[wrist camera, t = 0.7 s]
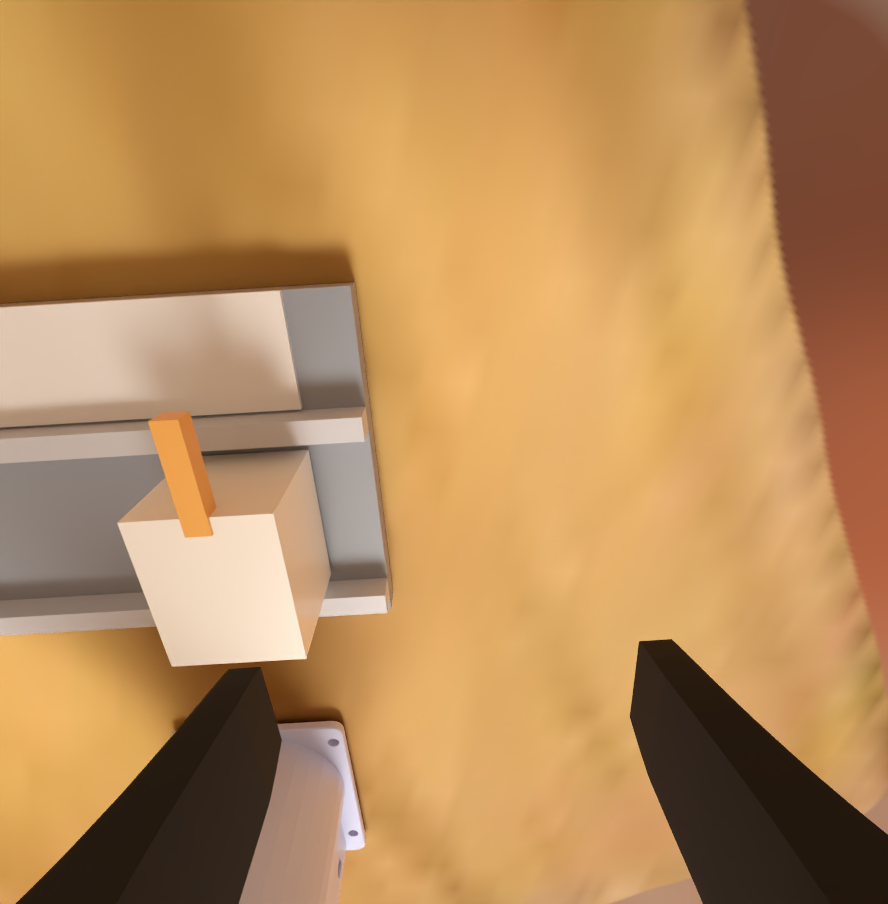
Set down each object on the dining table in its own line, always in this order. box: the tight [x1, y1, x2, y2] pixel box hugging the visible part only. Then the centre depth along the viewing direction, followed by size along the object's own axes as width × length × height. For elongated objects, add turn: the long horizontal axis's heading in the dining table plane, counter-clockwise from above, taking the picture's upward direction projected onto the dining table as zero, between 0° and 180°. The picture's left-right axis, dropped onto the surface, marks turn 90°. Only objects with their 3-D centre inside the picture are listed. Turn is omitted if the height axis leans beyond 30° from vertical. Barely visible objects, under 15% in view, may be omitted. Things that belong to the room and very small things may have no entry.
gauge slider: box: [117, 411, 331, 667], centre depth 15 cm, size 8×4×4 cm, turn 3°
